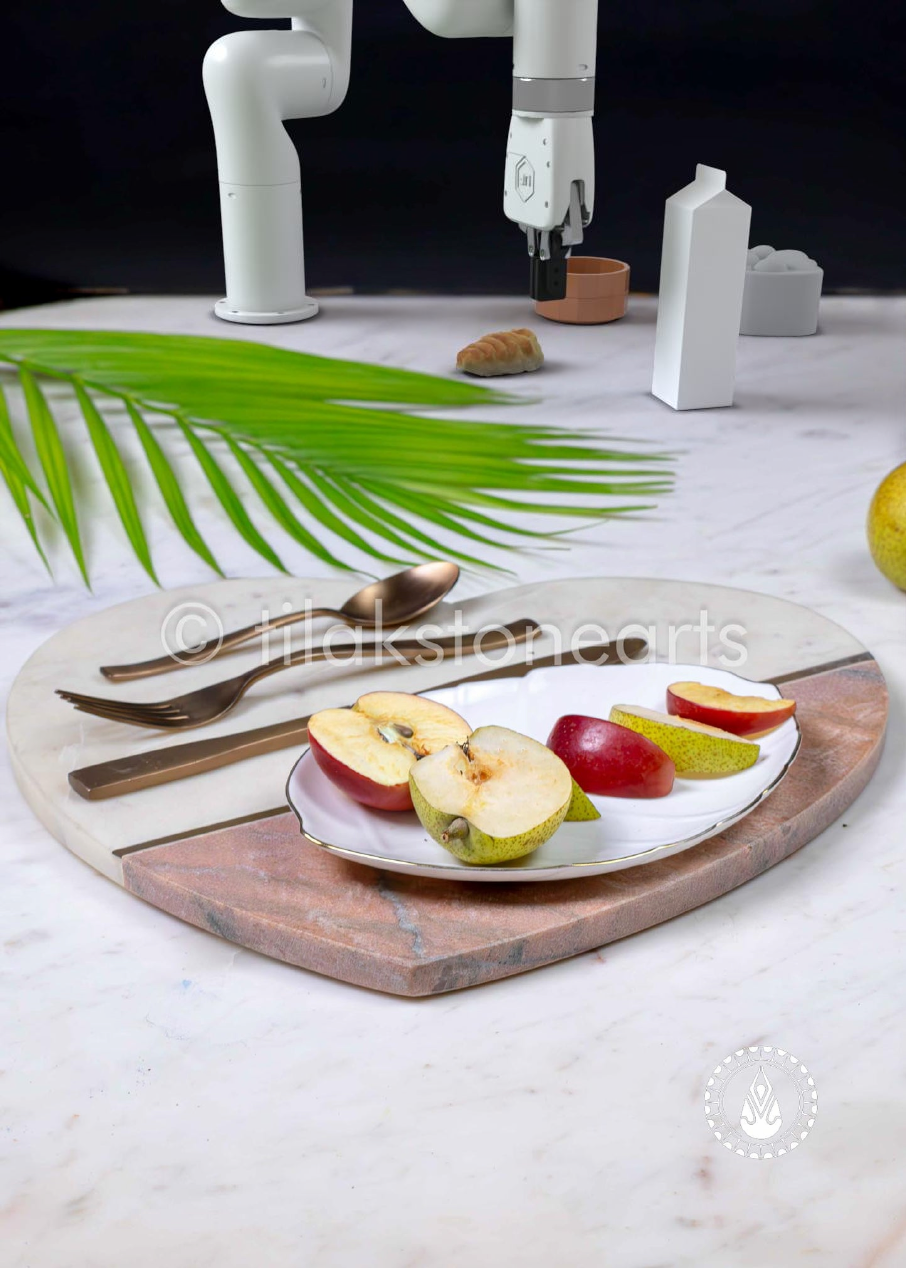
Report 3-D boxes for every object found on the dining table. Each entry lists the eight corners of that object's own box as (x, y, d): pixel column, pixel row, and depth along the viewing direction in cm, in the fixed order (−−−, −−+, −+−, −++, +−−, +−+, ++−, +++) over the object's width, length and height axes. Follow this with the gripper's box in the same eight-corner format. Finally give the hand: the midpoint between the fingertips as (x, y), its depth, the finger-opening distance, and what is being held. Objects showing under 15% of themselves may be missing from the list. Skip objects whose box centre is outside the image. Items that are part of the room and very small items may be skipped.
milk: (676, 411, 131) (694, 173, 121) (650, 394, 137) (666, 164, 127) (733, 406, 133) (756, 170, 123) (706, 389, 138) (725, 161, 128)
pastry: (481, 383, 139) (481, 346, 138) (440, 369, 144) (440, 333, 142) (548, 368, 145) (550, 332, 143) (507, 355, 149) (508, 321, 148)
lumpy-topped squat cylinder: (820, 337, 158) (829, 261, 154) (707, 334, 159) (714, 258, 155) (805, 316, 167) (814, 244, 163) (698, 313, 168) (705, 242, 164)
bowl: (518, 309, 169) (520, 260, 167) (596, 301, 174) (599, 253, 171) (562, 329, 160) (565, 278, 158) (643, 320, 164) (647, 270, 162)
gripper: (481, 94, 130) (480, 288, 138) (556, 106, 118) (551, 318, 125) (549, 91, 133) (545, 282, 141) (631, 102, 120) (620, 310, 128)
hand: (547, 298), depth 133 cm, fingers closed
